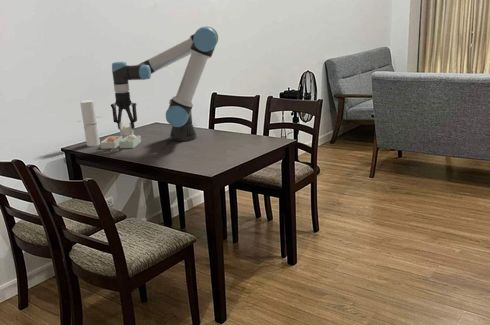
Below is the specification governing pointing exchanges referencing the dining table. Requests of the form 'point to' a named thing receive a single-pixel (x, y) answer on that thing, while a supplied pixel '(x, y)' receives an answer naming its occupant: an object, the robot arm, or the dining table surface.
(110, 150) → the coaster
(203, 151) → the dining table surface
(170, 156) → the dining table surface
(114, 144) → the tray offwhite
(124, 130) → the ivory ball
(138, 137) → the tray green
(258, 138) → the dining table surface
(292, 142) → the dining table surface
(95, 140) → the cylindrical container
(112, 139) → the terracotta ball
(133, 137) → the ivory ball
